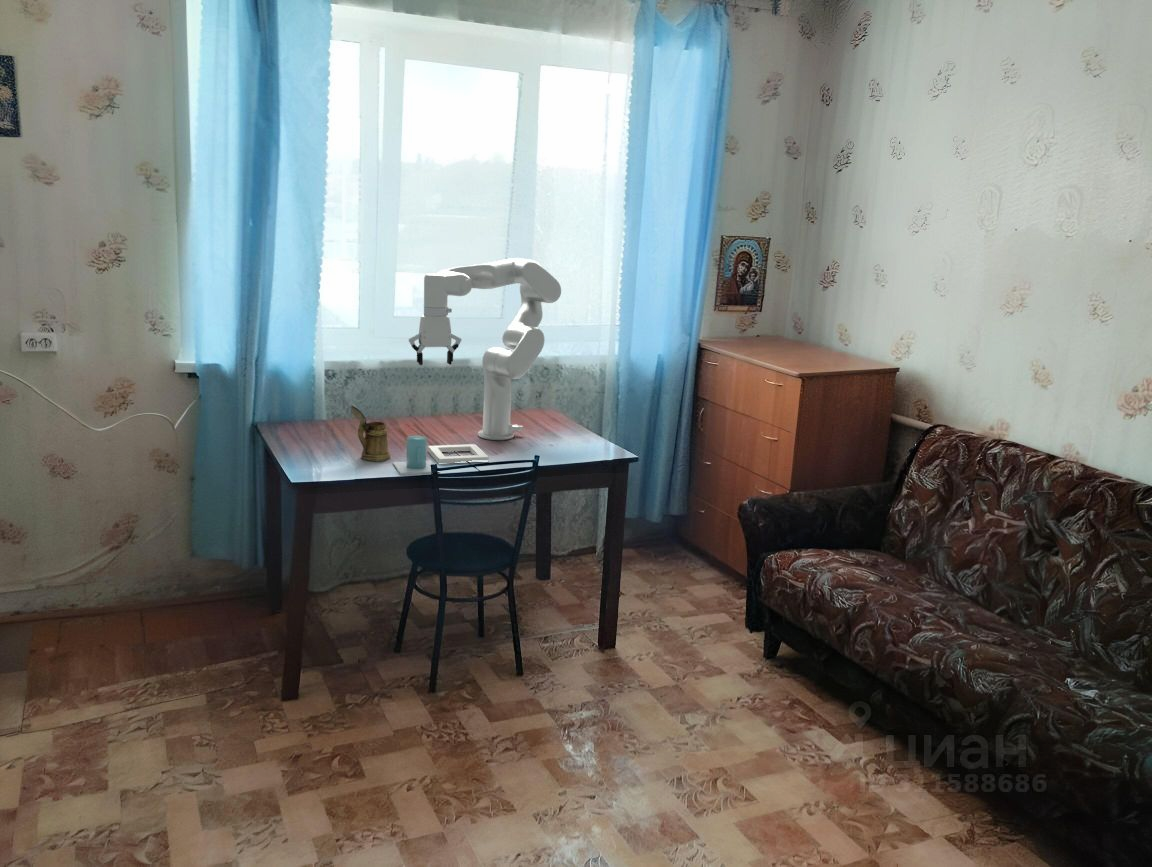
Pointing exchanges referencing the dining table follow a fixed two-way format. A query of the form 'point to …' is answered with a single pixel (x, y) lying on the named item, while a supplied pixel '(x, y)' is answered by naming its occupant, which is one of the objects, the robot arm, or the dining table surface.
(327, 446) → the dining table surface
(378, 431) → the wooden mug
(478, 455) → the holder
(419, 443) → the jug
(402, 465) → the tile
